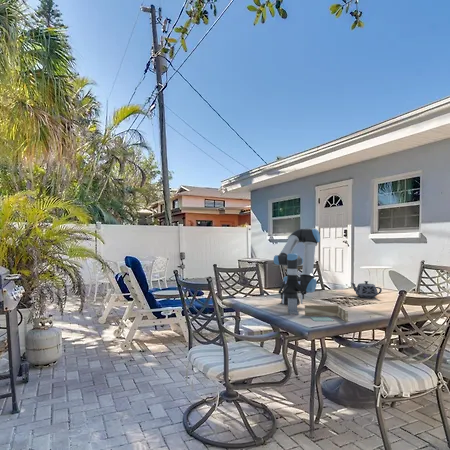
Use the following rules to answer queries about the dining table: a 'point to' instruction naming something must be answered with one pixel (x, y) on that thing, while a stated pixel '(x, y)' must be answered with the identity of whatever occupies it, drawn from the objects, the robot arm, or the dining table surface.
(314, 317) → the mat
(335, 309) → the wooden corner frame
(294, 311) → the angle block
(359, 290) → the teapot
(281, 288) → the robot arm
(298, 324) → the dining table surface
